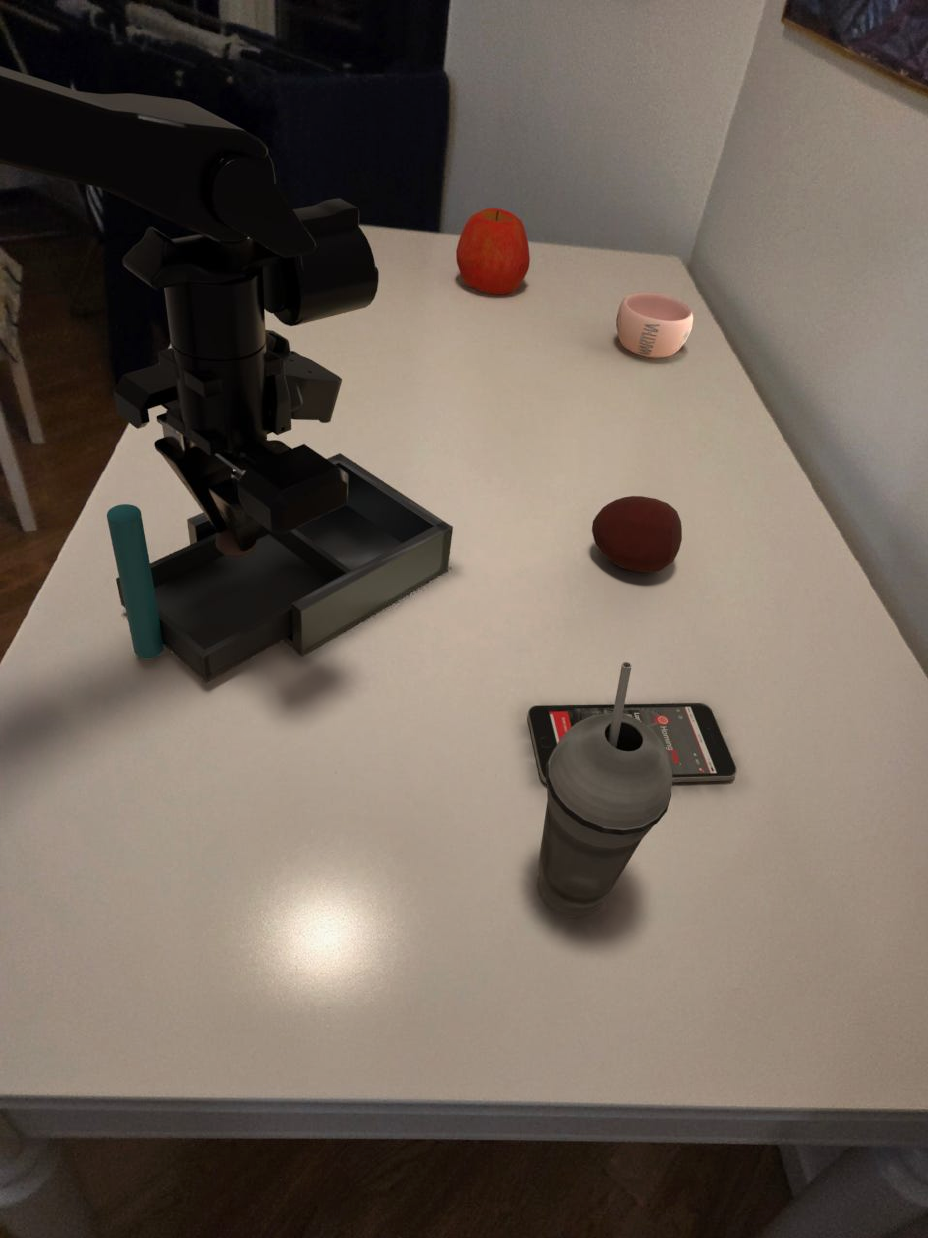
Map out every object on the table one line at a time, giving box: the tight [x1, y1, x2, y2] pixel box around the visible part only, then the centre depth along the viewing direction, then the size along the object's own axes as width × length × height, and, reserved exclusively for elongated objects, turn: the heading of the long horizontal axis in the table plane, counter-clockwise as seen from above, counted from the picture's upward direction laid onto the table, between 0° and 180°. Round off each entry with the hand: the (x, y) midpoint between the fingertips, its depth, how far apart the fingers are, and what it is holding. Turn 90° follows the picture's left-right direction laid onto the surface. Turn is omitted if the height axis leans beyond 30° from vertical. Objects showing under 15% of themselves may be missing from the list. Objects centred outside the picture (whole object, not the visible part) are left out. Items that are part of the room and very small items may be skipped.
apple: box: [455, 207, 531, 295], centre depth 127 cm, size 11×11×11 cm
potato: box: [591, 495, 683, 573], centre depth 83 cm, size 7×8×7 cm
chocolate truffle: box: [216, 529, 257, 557], centre depth 65 cm, size 3×3×2 cm
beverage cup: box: [536, 661, 673, 919], centre depth 52 cm, size 7×7×20 cm
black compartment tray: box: [106, 503, 351, 684], centre depth 68 cm, size 17×12×13 cm
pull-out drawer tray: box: [186, 452, 454, 657], centre depth 78 cm, size 17×15×5 cm
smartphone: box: [526, 702, 738, 785], centre depth 67 cm, size 7×1×15 cm
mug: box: [615, 291, 694, 359], centre depth 119 cm, size 12×10×6 cm
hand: (235, 539), depth 65 cm, fingers closed on chocolate truffle, 2 cm apart
